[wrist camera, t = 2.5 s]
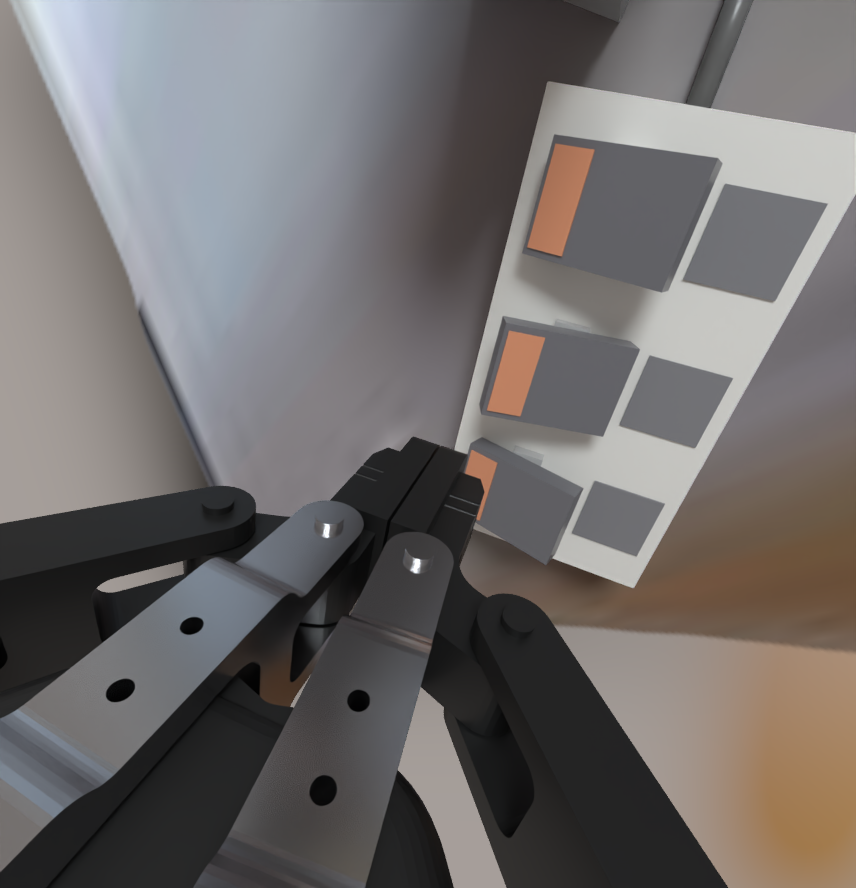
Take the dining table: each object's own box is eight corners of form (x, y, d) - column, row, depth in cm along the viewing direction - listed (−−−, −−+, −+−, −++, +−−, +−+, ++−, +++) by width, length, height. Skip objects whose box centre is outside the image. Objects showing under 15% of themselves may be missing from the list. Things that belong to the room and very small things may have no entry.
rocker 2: (630, 341, 22) (640, 350, 20) (595, 425, 24) (603, 437, 23) (503, 315, 21) (506, 323, 20) (479, 404, 23) (481, 415, 22)
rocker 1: (722, 163, 16) (717, 158, 16) (668, 290, 19) (661, 292, 18) (565, 140, 19) (553, 133, 18) (533, 253, 21) (521, 253, 20)
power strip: (950, -62, 17) (1060, -151, 13) (630, 546, 30) (634, 596, 26) (608, -93, 19) (609, -177, 15) (454, 484, 33) (433, 521, 29)
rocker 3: (583, 488, 23) (574, 497, 22) (555, 554, 25) (545, 566, 24) (482, 436, 26) (469, 443, 25) (463, 500, 28) (452, 509, 27)
